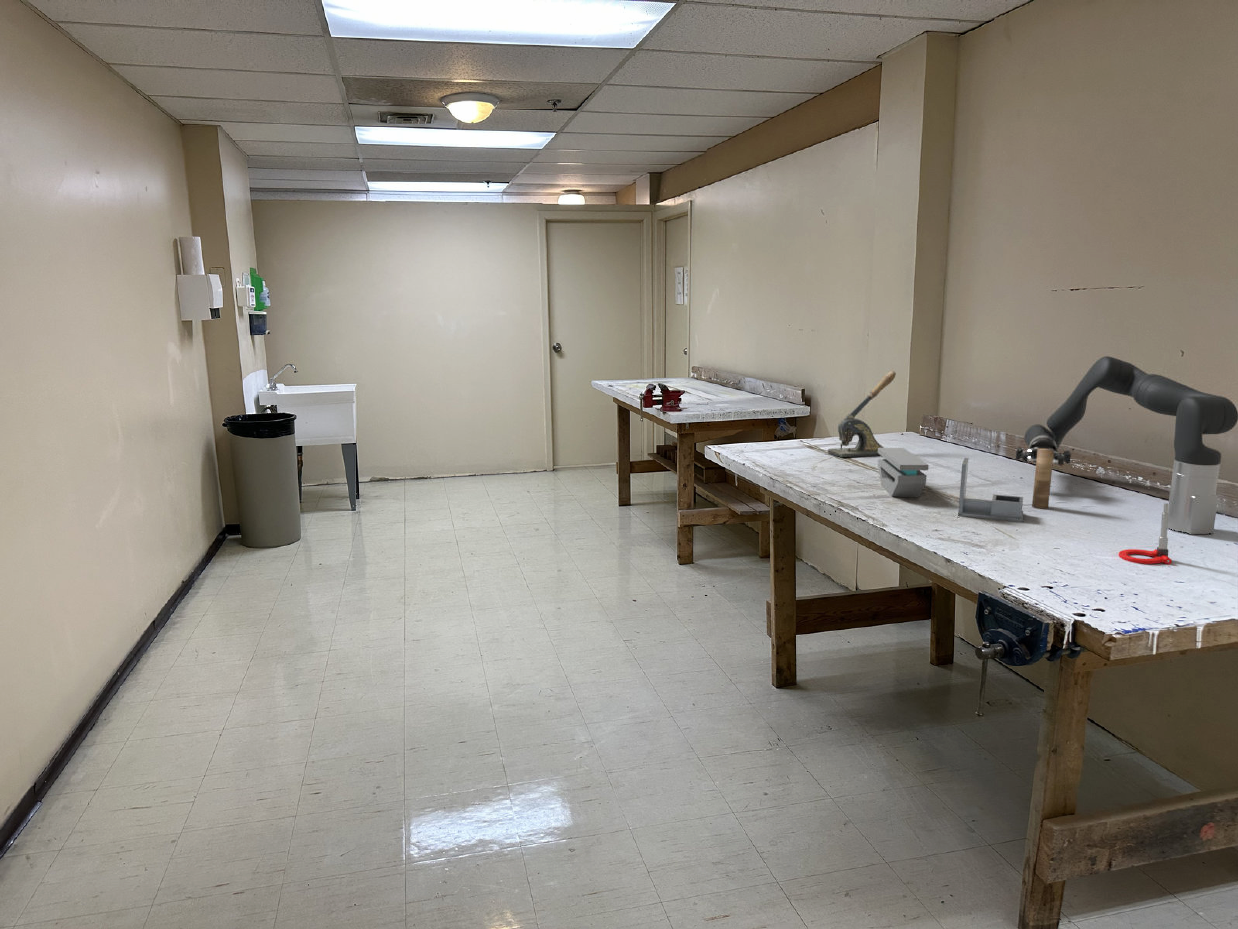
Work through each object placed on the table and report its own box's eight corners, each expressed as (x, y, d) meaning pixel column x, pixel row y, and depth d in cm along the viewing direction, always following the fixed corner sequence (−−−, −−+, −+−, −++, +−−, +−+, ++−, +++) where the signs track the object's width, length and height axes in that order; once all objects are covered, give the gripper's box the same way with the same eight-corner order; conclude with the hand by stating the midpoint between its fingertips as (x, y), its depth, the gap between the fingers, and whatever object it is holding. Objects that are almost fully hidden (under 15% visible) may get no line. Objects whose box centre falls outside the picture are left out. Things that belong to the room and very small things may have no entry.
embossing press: (825, 453, 304) (829, 371, 297) (884, 449, 308) (888, 369, 302) (839, 459, 293) (843, 374, 287) (900, 455, 298) (905, 372, 292)
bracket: (960, 507, 227) (964, 457, 224) (1023, 513, 221) (1027, 462, 218) (958, 515, 219) (962, 464, 216) (1022, 522, 213) (1027, 469, 210)
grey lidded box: (925, 502, 233) (928, 464, 231) (897, 502, 234) (900, 464, 231) (901, 482, 258) (903, 447, 255) (876, 482, 258) (878, 447, 256)
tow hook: (1126, 565, 181) (1173, 566, 179) (1130, 508, 179) (1178, 508, 176) (1113, 553, 189) (1158, 554, 187) (1116, 499, 187) (1162, 499, 184)
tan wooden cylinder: (1051, 508, 225) (1057, 451, 222) (1037, 509, 225) (1042, 451, 222) (1042, 505, 229) (1048, 448, 226) (1029, 505, 229) (1034, 448, 225)
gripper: (1017, 435, 251) (1016, 445, 237) (1070, 439, 245) (1072, 449, 231) (1015, 459, 253) (1014, 470, 239) (1068, 463, 247) (1069, 475, 233)
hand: (1043, 460), depth 235 cm, fingers open, 8 cm apart
